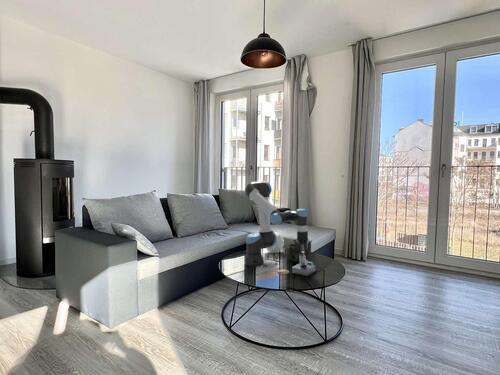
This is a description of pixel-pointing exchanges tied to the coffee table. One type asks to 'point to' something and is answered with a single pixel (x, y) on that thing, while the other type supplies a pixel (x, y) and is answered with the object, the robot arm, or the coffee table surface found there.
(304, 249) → the robot arm
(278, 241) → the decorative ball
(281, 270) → the coaster
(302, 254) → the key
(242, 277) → the coffee table surface
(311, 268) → the block
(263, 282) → the coffee table surface
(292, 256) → the mug
